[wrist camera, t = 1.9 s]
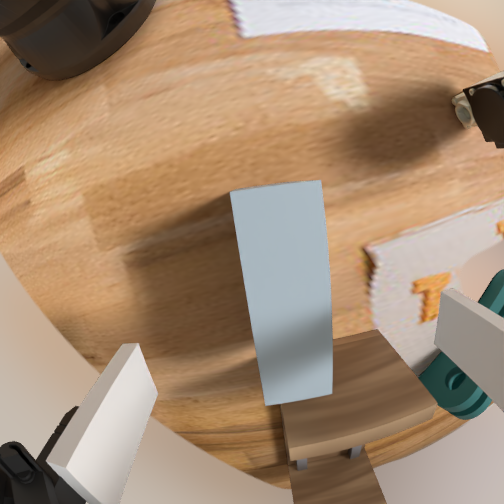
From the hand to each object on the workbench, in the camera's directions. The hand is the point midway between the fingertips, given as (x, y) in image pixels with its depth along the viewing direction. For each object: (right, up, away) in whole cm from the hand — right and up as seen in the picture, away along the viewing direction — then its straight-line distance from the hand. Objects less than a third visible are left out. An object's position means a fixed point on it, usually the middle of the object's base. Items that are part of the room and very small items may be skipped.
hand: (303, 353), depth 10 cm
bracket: (+25, -6, +15) cm, 30 cm away
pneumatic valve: (+20, +18, +9) cm, 28 cm away
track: (+6, -14, +16) cm, 22 cm away
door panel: (0, +3, +12) cm, 12 cm away
